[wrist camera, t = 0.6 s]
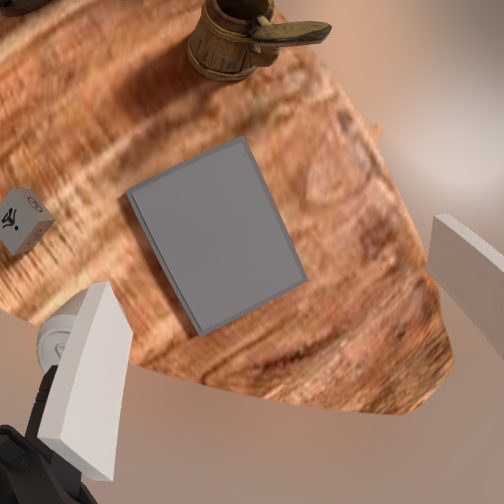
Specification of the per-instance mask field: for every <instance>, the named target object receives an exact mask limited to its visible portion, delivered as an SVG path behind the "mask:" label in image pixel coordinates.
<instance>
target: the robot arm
mask: <svg viewBox="0 0 504 504" xmlns="http://www.w3.org/2000/svg"><path fill="white" fill-rule="evenodd" d="M50 1H52V0H0V13H1V14H2V15H4V16H19V15H23V14H27V13H29V12H32V11H34V10H36V9H38V8H40V7H42V6H44V5H45V4H47V3H49V2H50ZM426 271H427V272H428V273H429V274H430V275H431V276H432V277H433V278H434V279H435V280H436V281H437V283H438V284H439V285H440V286H441V287H442V288H443V289H444V290H445V291H446V292H447V293H448V294H449V296H450V297H451V298H452V299H453V300H454V301H455V302H456V303H457V304H458V306H459V307H460V308H461V309H462V310H463V311H464V312H465V314H466V315H467V316H468V317H469V318H470V319H471V320H472V322H473V323H474V324H475V325H476V326H477V327H478V329H479V330H480V331H481V332H482V334H483V335H484V336H485V337H486V338H487V340H488V341H489V342H490V343H491V345H492V346H493V347H494V348H495V350H496V351H497V352H498V353H499V355H500V356H501V357H502V359H503V360H504V256H503V255H501V254H500V253H499V252H498V251H497V250H495V249H494V248H493V247H492V246H490V245H489V244H487V242H485V241H484V240H482V239H481V238H480V237H479V236H478V235H476V234H475V233H474V232H472V231H471V230H470V229H468V228H467V227H466V226H464V225H463V224H462V223H460V222H459V221H457V220H456V219H455V218H453V217H452V216H450V215H449V214H448V213H444V214H439V215H434V217H433V226H432V233H431V241H430V248H429V254H428V260H427V266H426ZM132 338H133V332H132V330H131V328H130V326H129V324H128V322H127V320H126V318H125V316H124V314H123V312H122V310H121V308H120V305H119V303H118V301H117V299H116V297H115V295H114V293H113V290H112V288H111V286H110V284H109V281H108V280H107V281H102V282H97V283H92V284H91V285H90V287H89V289H88V292H87V294H86V296H85V298H84V301H83V303H82V305H81V308H80V310H79V313H78V315H77V318H76V320H75V323H74V325H73V328H72V330H71V333H70V335H69V338H68V341H67V343H66V346H65V349H64V351H63V354H62V357H61V360H60V363H59V365H52V366H51V367H50V368H49V370H48V371H47V372H46V374H45V375H44V377H43V379H42V382H41V385H40V388H39V392H38V394H37V397H36V403H34V406H33V409H32V413H31V416H30V420H29V423H28V426H27V430H26V433H25V437H23V436H22V435H21V434H20V433H19V432H18V431H16V430H15V429H14V428H13V427H11V426H9V425H1V426H0V504H97V502H96V500H95V499H94V498H93V496H92V495H91V493H90V492H89V490H88V489H87V487H86V486H85V485H84V484H83V483H82V482H81V474H82V473H83V474H84V475H85V476H87V477H88V478H90V479H91V480H99V481H113V474H114V463H115V453H116V443H117V434H118V426H119V418H120V410H121V403H122V395H123V389H124V383H125V377H126V370H127V365H128V359H129V354H130V348H131V343H132Z"/></svg>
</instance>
